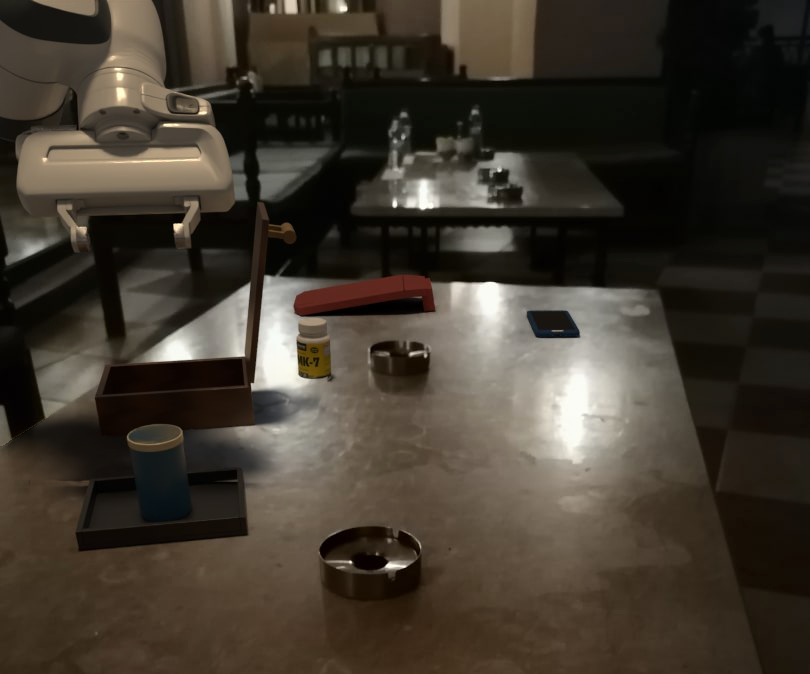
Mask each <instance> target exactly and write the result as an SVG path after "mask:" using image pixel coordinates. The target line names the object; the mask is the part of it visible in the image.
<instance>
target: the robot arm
mask: <svg viewBox="0 0 810 674" xmlns="http://www.w3.org/2000/svg"><path fill="white" fill-rule="evenodd" d="M160 20H161V19H160V17H159V13H158V11H157V9H156V6H155V4H154V2H153V0H0V139H1V140H5V141H9V142H12V143H13V142H14V144H15V147H14V149H15V158H16V160H17V162H18V164H17V169H16V170H17V172H16V192H17V195H18V198H19V201H20V203H21V205H22V207H23V209H24V210H25V211H26V212H27V213H28V214H29V215H30V216H32V217H33V218H59V219H60V222H61V224H62V226H63V227H64V228H65V230H66V231H67V232H68V234H69V235H70V243H71V248H72V250H73V253H90V252H91V250H92V249H91V248H92V247H91V237H90V234H89V230H88V227H87V226H78V225H77V223H78V217H93V216H94V217H95V216H96V217H97V216H122V215H123V216H127V215H159V214H160V215H161V214H163V215H164V214H185V216H184V218H183V219H182V222H181V223H173V224H172V225H173V238H174V244H175V249H177V250H179V249H192V237H191V235H193V233H194V232H195V230H196V228H197V226H198V225H199V223H200V221H201V220H202V219H201V213H226V212H228V211H230V209H232V207H233V206H234V205H235V203H236V194H235V193H236V192H235V182H234V176H233V169H232V165H231V160H230V156H229V152H228V148H227V145H226V143H225V140H224V137H223V135H222V133H221V132H220V131H219V130H218V129H217V128H216V121H215V115H214V112H213V108H212V104H211V103H210V102H209V101H208V100H207V99H204V98H201V97H196V96H194V95H188V94H186V93H181V92H178V91H175V90H172V89H168V88H166V86H165V80H166V76H167V59H166V50H165V42H164V35H163V29H162V25H161V21H160ZM69 88H71V89H72V90H73V91H74V92H75V94H76V103H77V120H78V123H77V124H62V125H60V124H61V120H62V116H63V112H64V108H65V103H66V98H67V92H68V90H69Z"/></svg>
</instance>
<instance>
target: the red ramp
mask: <svg viewBox="0 0 810 674" xmlns="http://www.w3.org/2000/svg"><path fill="white" fill-rule="evenodd" d="M420 297H421V300H422V306H423V311H424V313H426V312H431V311H436V305H435V297H434V291H433V284H432V281H431V277H427V278H426V276H425V275H415V274H397V275H391V276H386V277H379V278H374V279H367V280H362V281H356V282H350V283H345V284H339V285H333V286H326V287H321V288H315V289H309V290H304V291H302V292H300V293H298V294H296V295H295V299H294V302H293V305H292V306H293V312H294V314H296V315H299V316H306V315H313V314H317V313H318V314H319V313H324V312H329V311H331V312H332V311H337V310H341V309H342V310H343V309H348V308H354V307H360V306H366V305H371V304H377V303H382V302H383V303H384V302H389V301H396V300H400V299H408V298H420Z"/></svg>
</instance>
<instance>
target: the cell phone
mask: <svg viewBox="0 0 810 674" xmlns="http://www.w3.org/2000/svg"><path fill="white" fill-rule="evenodd" d="M526 317H527V319H528V322H529V324H530V326H531V329H532V331H533V333H534V335H535V337H542V338H545V337H547V338H549V337H550V338H552V337H554V338H555V337H556V338H557V337H560V338H561V337H580V334H581V331H580V328H579V327H578V325H577V323H576V322H575V320H574V318H573V317H572V315H571V314H570V312H569V310H566V309H565V310H562V309H561V310H560V309H558V310H557V309H556V310H554V309H553V310H547V309H544V310H542V309H541V310H537V309H536V310H535V309H534V310H533V309H532V310H527V311H526Z"/></svg>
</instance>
